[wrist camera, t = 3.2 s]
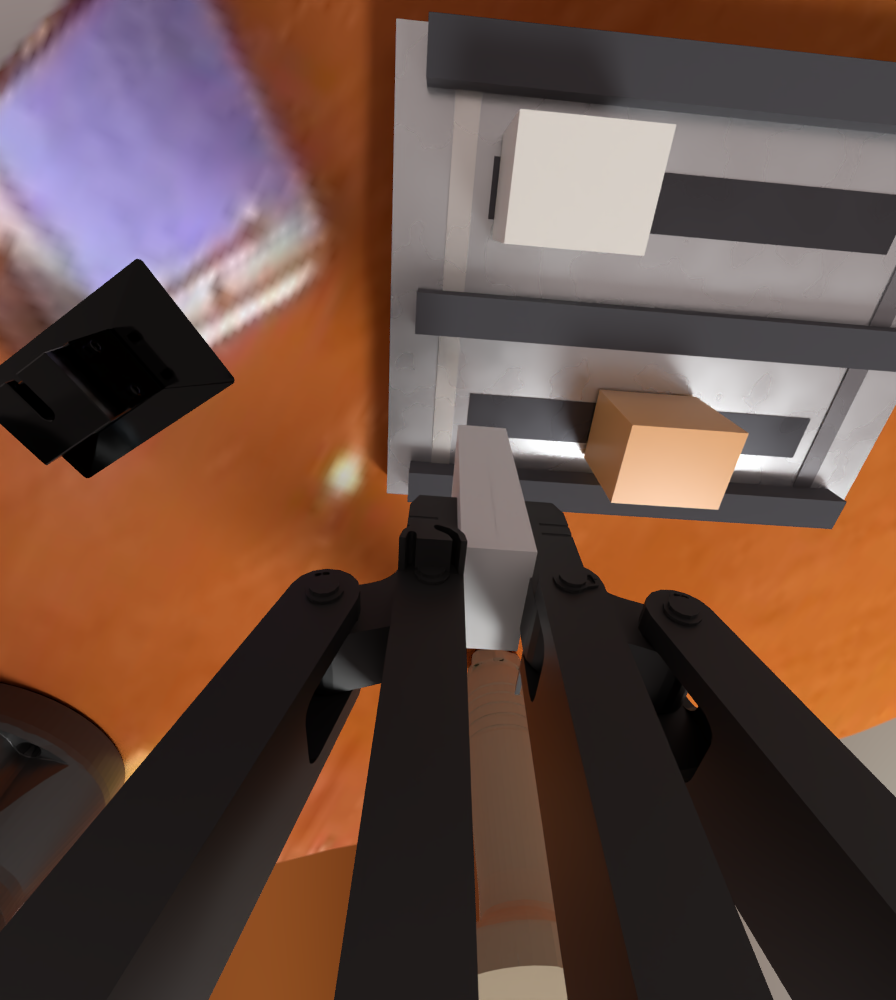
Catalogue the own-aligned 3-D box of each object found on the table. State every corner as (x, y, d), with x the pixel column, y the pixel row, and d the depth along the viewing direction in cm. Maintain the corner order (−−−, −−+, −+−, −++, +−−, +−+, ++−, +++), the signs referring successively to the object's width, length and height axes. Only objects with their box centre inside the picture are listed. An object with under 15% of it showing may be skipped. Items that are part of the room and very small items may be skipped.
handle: (515, 612, 28) (578, 956, 15) (546, 684, 31) (622, 1023, 18) (436, 636, 29) (431, 980, 16) (474, 704, 32) (496, 1041, 19)
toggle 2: (583, 456, 21) (611, 502, 18) (599, 389, 20) (632, 424, 16) (673, 463, 22) (718, 509, 18) (695, 396, 20) (748, 433, 17)
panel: (390, 478, 24) (386, 493, 22) (400, 34, 16) (396, 17, 14) (811, 506, 25) (832, 522, 23) (1017, 100, 17) (1068, 90, 15)
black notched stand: (159, 216, 19) (82, 215, 15) (282, 380, 22) (246, 415, 18) (-45, 379, 22) (-154, 414, 18) (89, 502, 25) (21, 556, 21)
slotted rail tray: (409, 488, 22) (407, 501, 21) (430, 26, 15) (428, 11, 14) (814, 515, 23) (831, 529, 22) (1034, 91, 15) (1076, 81, 14)
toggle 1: (491, 239, 17) (504, 243, 14) (503, 133, 16) (520, 108, 12) (604, 248, 17) (644, 255, 14) (625, 145, 16) (676, 124, 12)
